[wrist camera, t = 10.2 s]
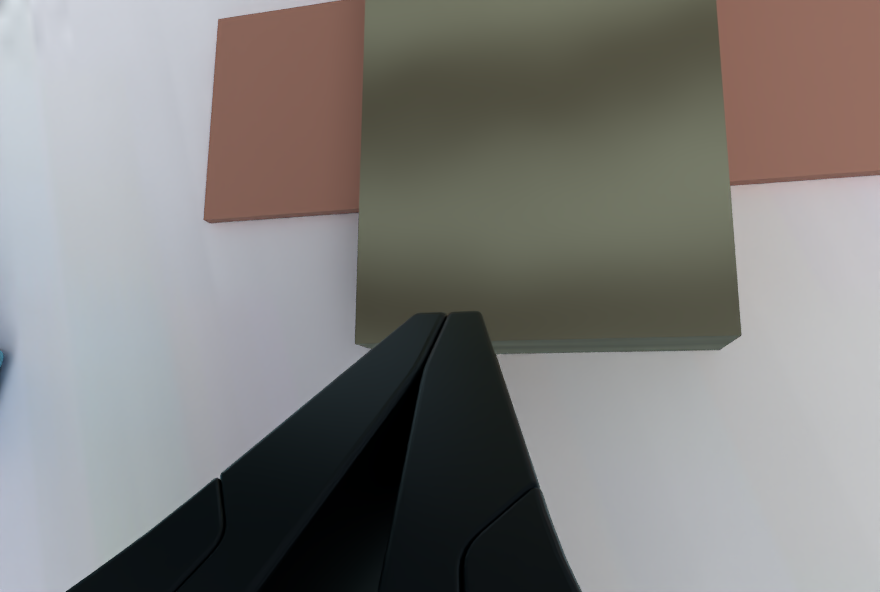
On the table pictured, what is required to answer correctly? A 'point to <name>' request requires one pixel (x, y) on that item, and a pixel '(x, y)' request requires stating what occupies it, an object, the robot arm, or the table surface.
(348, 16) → the reddish brown flat panel
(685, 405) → the table surface
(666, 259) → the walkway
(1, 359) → the data package
